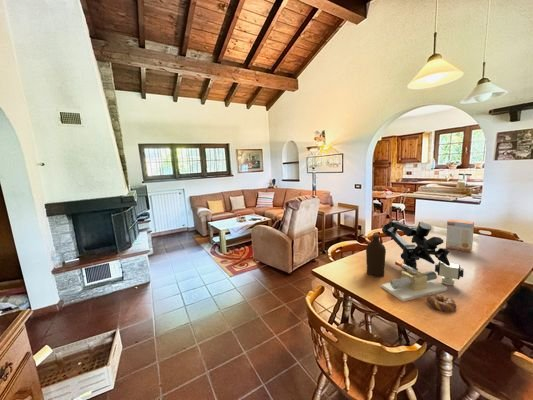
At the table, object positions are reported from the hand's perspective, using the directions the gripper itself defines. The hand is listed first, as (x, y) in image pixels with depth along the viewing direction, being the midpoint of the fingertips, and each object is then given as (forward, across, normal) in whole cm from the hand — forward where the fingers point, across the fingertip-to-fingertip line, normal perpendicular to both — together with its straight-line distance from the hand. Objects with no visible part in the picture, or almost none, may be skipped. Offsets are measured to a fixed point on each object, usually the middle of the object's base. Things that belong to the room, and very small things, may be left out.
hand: (441, 264), depth 115 cm
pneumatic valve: (+2, +11, +12) cm, 17 cm away
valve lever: (-5, -11, +11) cm, 16 cm away
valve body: (+3, -9, +15) cm, 18 cm away
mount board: (+3, -8, +16) cm, 19 cm away
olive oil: (-13, -17, +27) cm, 34 cm away
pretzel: (+17, -7, +10) cm, 21 cm away
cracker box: (-37, +59, +18) cm, 71 cm away
